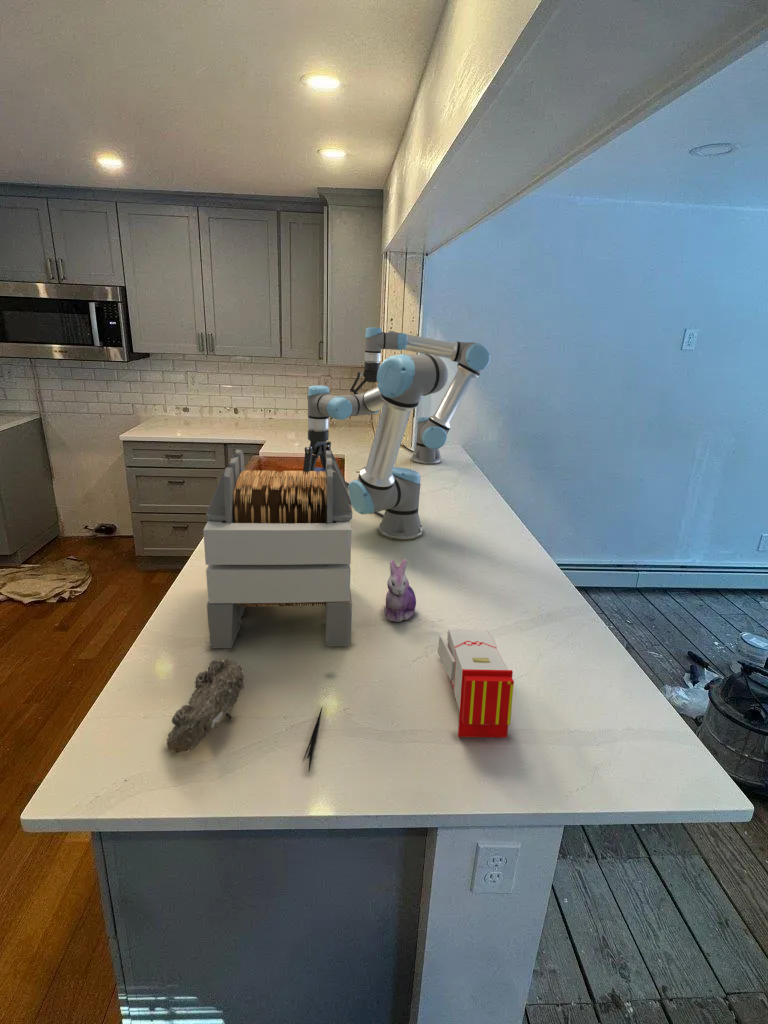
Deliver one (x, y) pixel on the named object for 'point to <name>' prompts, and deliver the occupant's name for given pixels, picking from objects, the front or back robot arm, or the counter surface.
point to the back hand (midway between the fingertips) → (370, 407)
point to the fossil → (206, 705)
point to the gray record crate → (278, 547)
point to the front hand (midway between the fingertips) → (317, 488)
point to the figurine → (399, 594)
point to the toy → (478, 682)
